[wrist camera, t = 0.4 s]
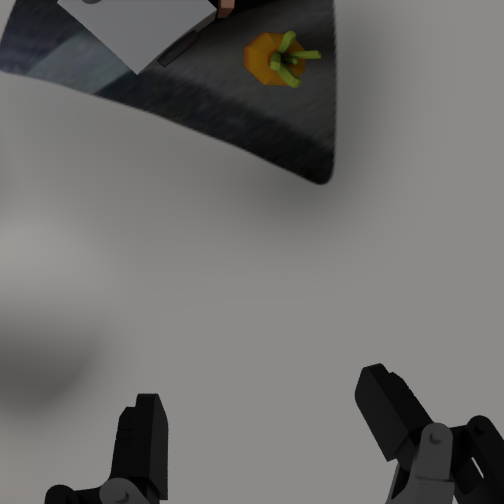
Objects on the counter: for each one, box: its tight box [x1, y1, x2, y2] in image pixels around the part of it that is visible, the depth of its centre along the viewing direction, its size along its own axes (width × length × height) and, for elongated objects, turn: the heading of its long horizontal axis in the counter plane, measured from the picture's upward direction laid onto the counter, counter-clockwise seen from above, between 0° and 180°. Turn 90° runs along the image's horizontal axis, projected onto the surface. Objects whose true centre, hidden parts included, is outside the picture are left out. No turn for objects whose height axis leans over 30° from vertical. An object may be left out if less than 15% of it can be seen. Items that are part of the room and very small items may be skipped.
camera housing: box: [57, 0, 217, 75], centre depth 18 cm, size 12×8×11 cm, turn 37°
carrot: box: [244, 30, 322, 88], centre depth 21 cm, size 5×5×15 cm
